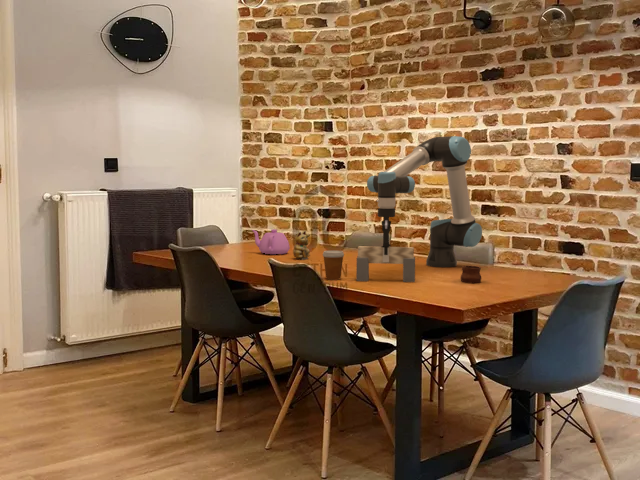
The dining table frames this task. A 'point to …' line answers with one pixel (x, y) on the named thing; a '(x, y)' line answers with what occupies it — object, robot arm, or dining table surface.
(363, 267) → the set of support blocks
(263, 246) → the teapot
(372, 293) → the dining table surface
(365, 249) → the ash rail plank
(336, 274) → the disposable coffee cup
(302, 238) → the decorative figurine
